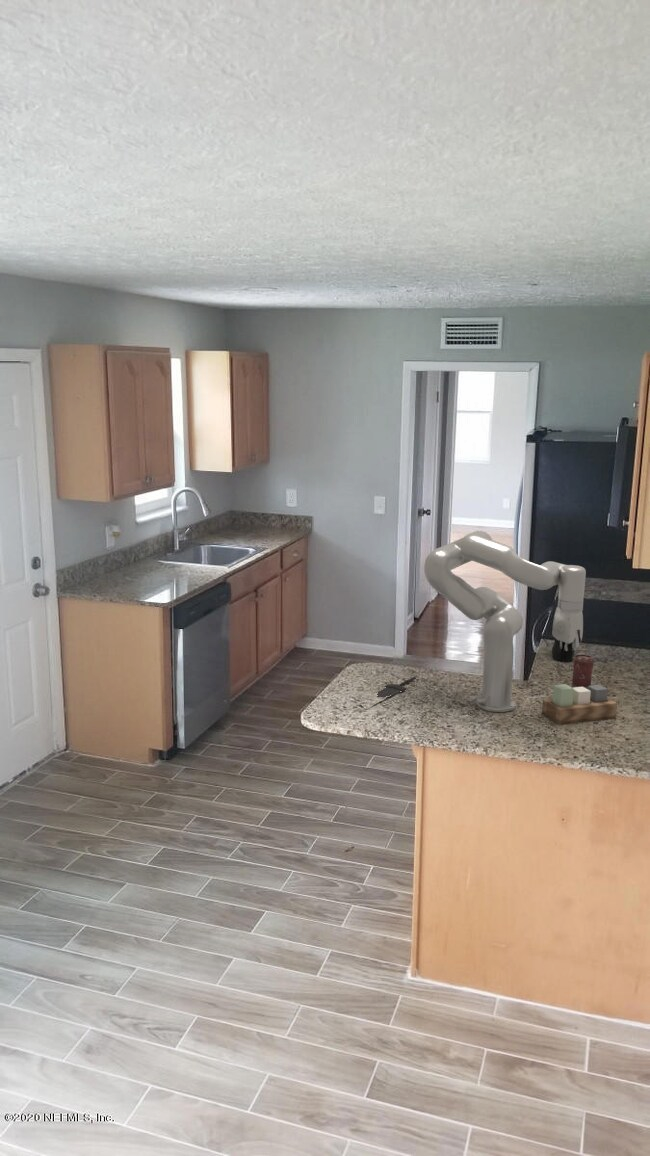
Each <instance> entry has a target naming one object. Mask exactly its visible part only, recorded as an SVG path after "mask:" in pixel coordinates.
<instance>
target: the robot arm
mask: <svg viewBox="0 0 650 1156" xmlns="http://www.w3.org/2000/svg"><path fill="white" fill-rule="evenodd" d="M469 562H475V563H478V564H480V565H483V566H486V567H488V568H491V569H494V570H496V571H500V572H501V573H502V574H504V576H507V577H508V578H510V579H511V580H513V581H514V582H517V583H519V584H522V585H524V586H527V587H530V588H533V589H535V590H539V591H544V590H545V591H547V590H549V589H551V588H553V586H557V585H558V586H559V587H558V599H557V600H558V601H557V603H558V607H557V608H556V612H555V611H554V615H553V622H552V629H551V630H552V633H551V635H552V636H553V638H554V637H555V638H556V639H557V640H558V641H559V643H560V649H561V654H560V661H559V662H562V663H564V664H565V663H571V662H572V661H573V658H572V650H574V651H575V649H578V648H579V647H580V643H582V639H583V633H584V615H583V610H584V597H585V588H586V587H585V585H586V578H587V577H586V576H587V575H586V573H587V571H586V568H585V567H583V566H580V565H576V564H575V565H574V564H564V563H560V562H556V561H551V560H550V561H545V562H543V563H541V564H540V565H539V564H537V563H535V562H531V561H529V560H526V559H524V558H522V557H521V556H520V555H518V554H517V553H516V550H515V549H514V547H512V546H511V545H508V544H505V543H501V542H499V541H496V540H493V538H492V536H491V535H490V534H489V533H487V532H486V531H483V530H475V531H473V532H470V533H468V534H466V535H464V536H463V537H462V538H459V539H457V540H456V539H455V540H454V541H452V542H450V543H447V544H445V545H443V546H439V547H438V548H435V549H433V550H432V551H431V552H429V553H428V555H427V556H426V558H425V559H424V567H423V570H424V575H425V578H426V581H427V583H428V585H430V586H431V588H433V590H435V591H436V592H437V593H439V594H440V595H441V596H442V597H443V598H445V600H447V601H448V602H449V603H450V604H451V605H453V606H454V607H455V608H456V609H458V611H459V612H460V613H462V614H463V615H465V617H467V618H468V619H469V620H472V621H479V620H481V619H483V618H484V619H486V621H485V622H484V626H483V629H482V630H483V632H482V633H483V643H484V644H483V645H484V646H483V649H484V651H483V670H482V671H483V673H482V687H481V688H482V690H481V691H479V692H478V694H477V695H469V696H467V697H468V699H467V700H468V702H471V703H474V702H475V703H476V705H477V706H478V707H479V708H480V709H482V710H484V711H488V712H495V713H505V712H510V711H511V712H512V711H513V710H515V708H516V706H517V705H516V702H515V701H514V700H513V699H512V693H513V691H512V689H513V671H514V660H515V659H514V655H515V654H514V653H515V650H514V649H515V648H514V636H515V635H517V634H518V633H519V632H520V631H521V629H522V627H523V625H524V624H523V623H524V620H523V619H524V618H523V616H522V615H521V612H519V610H518V609H517V608H516V607H515V606H513V605H512V604H511V603H510V602H508V601H507V600H506V599H505V598H504V597H502V596H501V595H499V593H497V592H496V591H494V590H493V589H492V588H488V587H487V586H486V587H485V586H480V587H476V588H474V587H473V586H471V585H470V584H469V583H467V582H466V581H465V579H463V578H461V577H459V576H458V575H456V574H455V573H453V571H452V570H455V569H457V568H458V567H461V566H462V565H466V564H469Z"/></svg>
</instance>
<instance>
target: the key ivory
mask: <svg viewBox="0 0 650 1156" xmlns="http://www.w3.org/2000/svg"><path fill="white" fill-rule="evenodd" d="M590 694H591V691H590V690H588V689H586V688H584V687H574V690H573V703H575V704H577V705H581V704H590Z"/></svg>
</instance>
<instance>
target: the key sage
mask: <svg viewBox="0 0 650 1156" xmlns="http://www.w3.org/2000/svg"><path fill="white" fill-rule="evenodd" d="M552 690H553V691H552V698H553V703H554V704H556V705H557V706H559V707H565V706H572V703H573V690H574V688H572V686H570V685H568V684H565V683H561V684H553V689H552Z"/></svg>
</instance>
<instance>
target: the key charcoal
mask: <svg viewBox="0 0 650 1156" xmlns="http://www.w3.org/2000/svg"><path fill="white" fill-rule="evenodd" d="M588 690H590V691H591V694H590V700H591V701H593V702H594V703H598V702H606V701H607V698H608V694H609V693H608V692H609V689H608V688H607V687H605V686H603V685H601V684H595V685H592V684H591V686H588Z"/></svg>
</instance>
